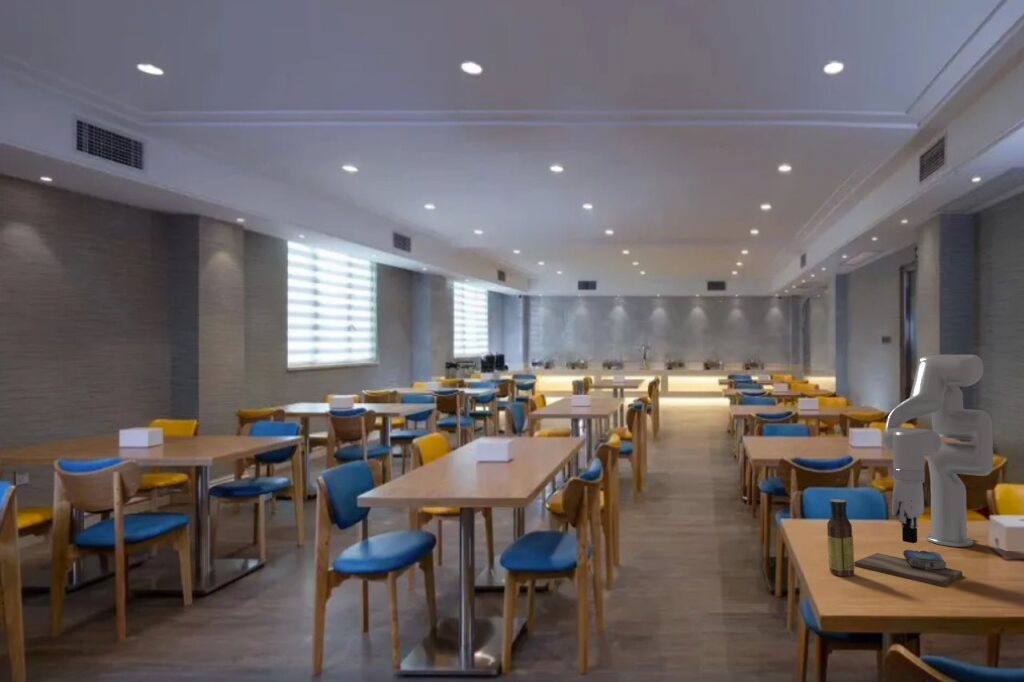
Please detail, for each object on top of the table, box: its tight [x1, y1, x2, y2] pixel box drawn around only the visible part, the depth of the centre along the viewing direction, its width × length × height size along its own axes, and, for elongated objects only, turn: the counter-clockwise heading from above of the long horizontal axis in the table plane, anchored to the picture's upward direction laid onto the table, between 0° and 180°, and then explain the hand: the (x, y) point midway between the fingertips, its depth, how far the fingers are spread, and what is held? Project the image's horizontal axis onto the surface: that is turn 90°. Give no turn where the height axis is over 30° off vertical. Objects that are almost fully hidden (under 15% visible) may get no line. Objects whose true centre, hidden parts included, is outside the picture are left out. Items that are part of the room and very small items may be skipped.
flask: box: [903, 549, 947, 570], centre depth 187 cm, size 9×3×11 cm
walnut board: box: [854, 552, 963, 587], centre depth 186 cm, size 14×22×1 cm, turn 38°
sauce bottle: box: [826, 498, 855, 578], centre depth 184 cm, size 6×6×20 cm
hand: (909, 541), depth 187 cm, fingers closed
